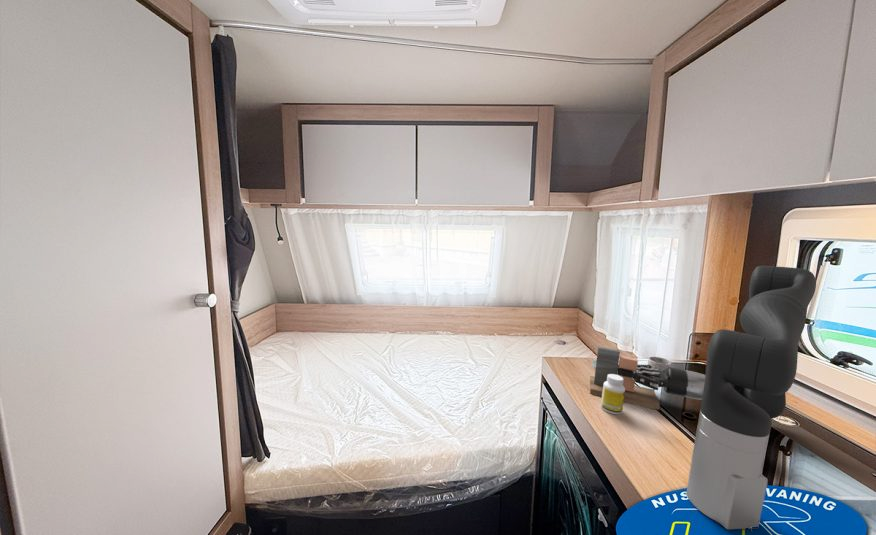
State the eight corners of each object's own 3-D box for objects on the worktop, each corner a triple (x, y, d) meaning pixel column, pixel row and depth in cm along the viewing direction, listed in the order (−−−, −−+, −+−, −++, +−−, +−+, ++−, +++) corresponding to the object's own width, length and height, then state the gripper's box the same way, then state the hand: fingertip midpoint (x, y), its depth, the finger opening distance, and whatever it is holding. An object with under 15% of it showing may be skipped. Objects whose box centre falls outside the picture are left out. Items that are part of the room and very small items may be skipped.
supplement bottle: (625, 416, 87) (629, 382, 86) (603, 413, 88) (607, 380, 87) (618, 405, 93) (622, 374, 91) (598, 403, 94) (602, 371, 92)
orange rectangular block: (633, 392, 97) (637, 361, 96) (616, 388, 99) (620, 357, 98) (632, 389, 99) (636, 358, 98) (615, 385, 101) (619, 355, 100)
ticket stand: (659, 409, 91) (665, 365, 90) (590, 393, 99) (595, 351, 97) (652, 394, 100) (658, 353, 99) (589, 380, 108) (594, 341, 106)
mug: (673, 384, 108) (675, 365, 107) (651, 381, 109) (654, 363, 108) (657, 371, 118) (660, 354, 117) (638, 369, 119) (640, 352, 118)
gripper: (680, 362, 98) (616, 350, 105) (694, 381, 86) (621, 366, 93) (677, 385, 99) (614, 372, 106) (690, 407, 87) (617, 390, 94)
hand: (617, 369), depth 99 cm, fingers closed on orange rectangular block, 2 cm apart
